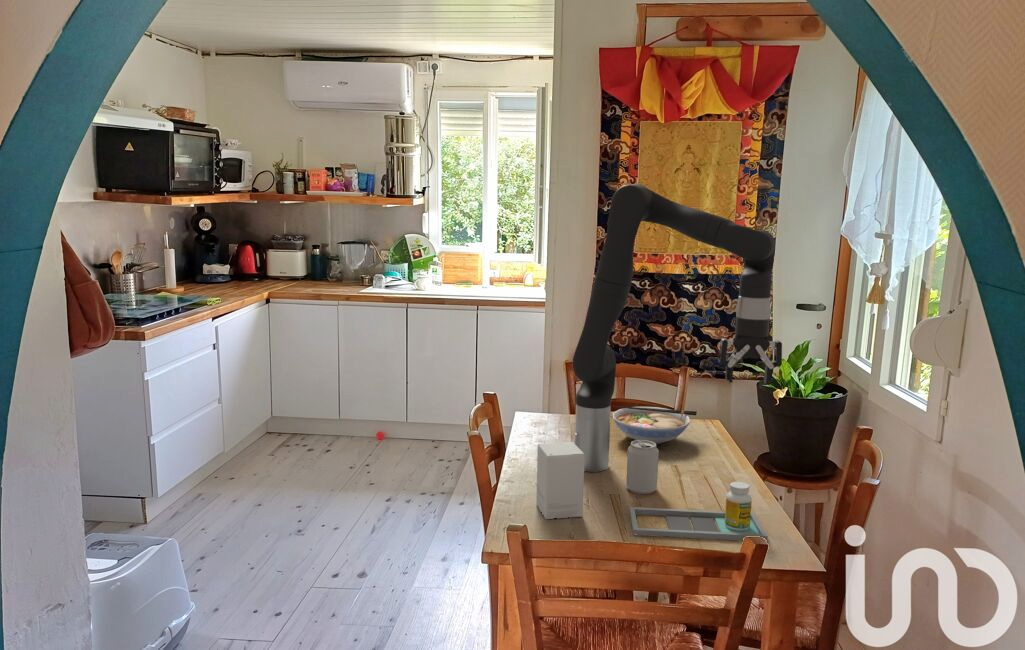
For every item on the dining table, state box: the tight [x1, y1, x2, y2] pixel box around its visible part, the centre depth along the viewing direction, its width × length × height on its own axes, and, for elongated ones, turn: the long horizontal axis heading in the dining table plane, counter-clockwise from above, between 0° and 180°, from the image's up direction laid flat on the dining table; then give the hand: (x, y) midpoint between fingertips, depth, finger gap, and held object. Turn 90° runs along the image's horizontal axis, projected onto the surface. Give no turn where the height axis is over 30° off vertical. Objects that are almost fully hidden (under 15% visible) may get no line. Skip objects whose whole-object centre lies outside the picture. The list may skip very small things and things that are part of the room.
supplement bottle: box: [725, 481, 753, 531], centre depth 164 cm, size 5×5×10 cm
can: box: [625, 439, 660, 495], centre depth 185 cm, size 8×8×12 cm
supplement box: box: [536, 441, 585, 520], centre depth 172 cm, size 9×9×15 cm
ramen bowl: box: [612, 405, 697, 445], centre depth 223 cm, size 25×23×8 cm
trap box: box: [628, 506, 769, 541], centre depth 166 cm, size 28×12×1 cm, turn 86°
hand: (748, 382), depth 180 cm, fingers open, 8 cm apart
